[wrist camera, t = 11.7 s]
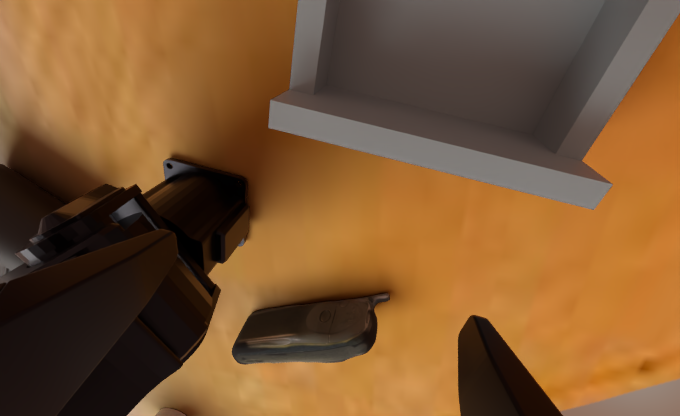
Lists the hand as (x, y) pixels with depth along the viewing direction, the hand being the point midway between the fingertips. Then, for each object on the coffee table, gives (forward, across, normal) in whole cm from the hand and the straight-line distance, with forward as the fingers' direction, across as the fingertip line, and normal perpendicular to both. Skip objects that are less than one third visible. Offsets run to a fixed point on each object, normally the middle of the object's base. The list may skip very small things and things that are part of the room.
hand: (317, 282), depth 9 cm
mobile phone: (+13, +1, +17) cm, 22 cm away
